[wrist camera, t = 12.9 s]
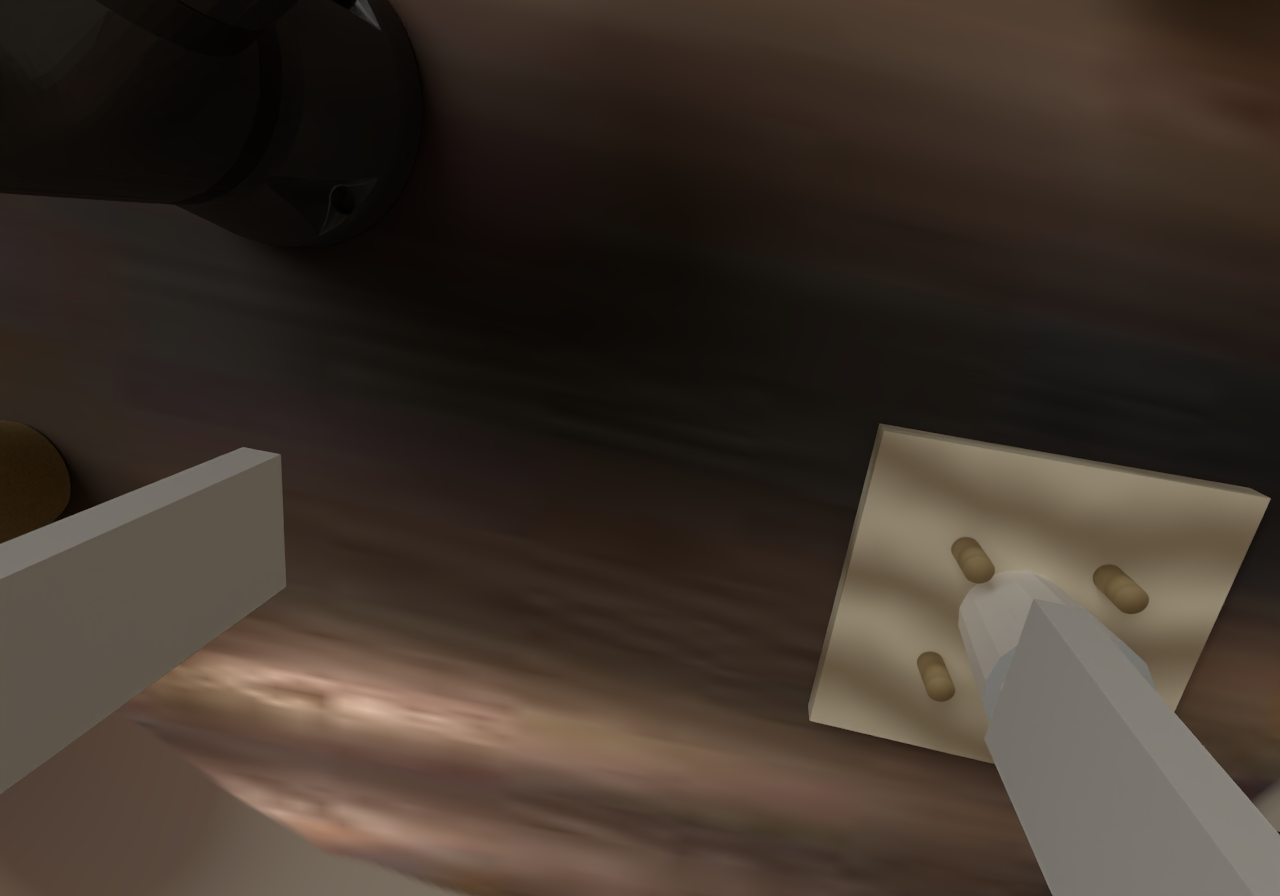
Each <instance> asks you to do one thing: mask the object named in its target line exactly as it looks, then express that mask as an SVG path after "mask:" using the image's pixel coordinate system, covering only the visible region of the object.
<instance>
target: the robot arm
mask: <svg viewBox="0 0 1280 896" xmlns="http://www.w3.org/2000/svg"><path fill="white" fill-rule="evenodd" d="M421 127H422V94H421V86H420V79H419V74H418V69H417V65H416V61H415V57H414V54H413V51H412V48H411V45H410V42H409V40H408V37H407V34H406V32H405V30H404V28H403V26H402V24H401V22H400V20H399V18H398V16H397V14H396V13H395V11H394V9H393V8H392V6H391V5H390V3H389V2H388V0H0V193H5V194H20V195H34V196H49V197H64V198H79V199H94V200H109V201H124V202H139V203H160V204H173V205H176V206H179V207H181V208H183V209H185V210H187V211H189V212H191V213H193V214H195V215H197V216H199V217H202V218H204V219H206V220H208V221H210V222H212V223H214V224H216V225H218V226H220V227H222V228H225V229H227V230H229V231H231V232H233V233H235V234H237V235H240V236H242V237H245V238H247V239H250V240H254V241H257V242H261V243H266V244H271V245H278V246H324V245H331V244H335V243H339V242H342V241H345V240H348V239H350V238H352V237H354V236H356V235H358V234H360V233H362V232H363V231H365V230H366V229H368V228H369V227H371V226H372V225H373V224H375V223H376V222H377V221H378V220H379V219H380V218H381V217H382V216H383V215H384V214H385V213H386V212H387V211H388V210H389V209H390V208H391V206H392V205H393V204H394V202H395V201H396V200H397V198H398V197H399V195H400V193H401V192H402V190H403V188H404V186H405V184H406V183H407V180H408V178H409V176H410V174H411V171H412V168H413V165H414V163H415V159H416V155H417V152H418V147H419V142H420V135H421ZM285 587H286V573H285V548H284V523H283V498H282V473H281V454H276V453H270V452H265V451H260V450H255V449H250V448H244V447H242V448H240V449H237V450H235V451H232V452H230V453H227V454H225V455H222V456H220V457H217V458H215V459H212V460H210V461H207V462H205V463H202V464H200V465H197V466H195V467H192V468H190V469H187V470H185V471H182V472H180V473H177V474H175V475H172V476H170V477H167V478H165V479H162V480H160V481H157V482H155V483H152V484H149V485H147V486H144V487H142V488H139V489H137V490H134V491H132V492H129V493H127V494H124V495H122V496H119V497H117V498H114V499H112V500H109V501H107V502H104V503H102V504H99V505H97V506H94V507H92V508H89V509H87V510H84V511H82V512H79V513H77V514H74V515H72V516H69V517H67V518H64V519H62V520H59V521H57V522H54V523H52V524H49V525H47V526H44V527H42V528H39V529H37V530H34V531H32V532H29V533H27V534H24V535H22V536H19V537H17V538H14V539H12V540H9V541H7V542H4V543H2V544H0V794H1V793H2V792H4V791H5V790H7V789H8V788H9V787H11V786H12V785H14V784H15V783H16V782H18V781H19V780H20V779H22V778H23V777H24V776H26V775H27V774H29V773H30V772H31V771H33V770H34V769H35V768H37V767H38V766H40V765H41V764H42V763H44V762H45V761H47V760H48V759H49V758H51V757H52V756H53V755H55V754H56V753H58V752H59V751H60V750H62V749H63V748H65V747H66V746H67V745H69V744H70V743H71V742H73V741H74V740H75V739H77V738H78V737H80V736H81V735H82V734H84V733H85V732H87V731H88V730H89V729H90V728H92V727H93V726H95V725H96V724H98V723H99V722H100V721H102V720H103V719H104V718H106V717H107V716H109V715H110V714H111V713H113V712H114V711H116V710H117V709H118V708H120V707H121V706H122V705H124V704H125V703H127V702H128V701H129V700H131V699H132V698H133V697H135V696H136V695H138V694H139V693H140V692H142V691H143V690H144V689H146V688H147V687H149V686H150V685H151V684H153V683H154V682H155V681H157V680H158V679H160V678H161V677H162V676H164V675H165V674H166V673H168V672H169V671H171V670H172V669H173V668H175V667H176V666H178V665H179V664H180V663H182V662H183V661H184V660H186V659H187V658H189V657H190V656H191V655H193V654H194V653H195V652H197V651H198V650H200V649H201V648H202V647H204V646H205V645H206V644H208V643H209V642H211V641H212V640H213V639H215V638H216V637H217V636H219V635H220V634H222V633H223V632H224V631H226V630H227V629H229V628H230V627H231V626H233V625H234V624H235V623H237V622H238V621H240V620H241V619H242V618H244V617H245V616H246V615H248V614H249V613H251V612H252V611H253V610H255V609H256V608H257V607H259V606H260V605H262V604H263V603H264V602H266V601H267V600H268V599H270V598H271V597H273V596H274V595H275V594H277V593H278V592H279V591H281V590H282V589H284V588H285ZM984 740H985V742H986V745H987V747H988V749H989V752H990V754H991V756H992V758H993V761H994V763H995V765H996V768H997V770H998V772H999V774H1000V777H1001V779H1002V781H1003V784H1004V786H1005V788H1006V790H1007V793H1008V795H1009V797H1010V800H1011V802H1012V804H1013V806H1014V809H1015V811H1016V813H1017V816H1018V818H1019V820H1020V822H1021V825H1022V827H1023V829H1024V832H1025V834H1026V836H1027V839H1028V841H1029V843H1030V845H1031V848H1032V850H1033V852H1034V855H1035V857H1036V859H1037V861H1038V864H1039V866H1040V868H1041V871H1042V873H1043V875H1044V877H1045V880H1046V882H1047V884H1048V887H1049V889H1050V891H1051V893H1052V896H1280V832H1278V831H1276V830H1275V829H1274V828H1273V826H1272V825H1271V824H1270V823H1269V822H1268V821H1267V819H1266V818H1265V817H1264V816H1263V815H1262V814H1261V812H1260V811H1259V810H1258V809H1257V808H1256V807H1255V805H1254V804H1253V803H1252V802H1251V801H1250V800H1249V799H1248V797H1247V796H1246V795H1245V794H1244V793H1243V792H1242V790H1241V789H1240V788H1239V787H1238V786H1237V785H1236V783H1235V782H1234V781H1233V780H1232V779H1231V778H1230V777H1229V775H1228V774H1227V773H1226V772H1225V771H1224V770H1223V768H1222V767H1221V766H1220V765H1219V764H1218V763H1217V761H1216V760H1215V759H1214V758H1213V757H1212V756H1211V754H1210V753H1209V752H1208V751H1207V750H1206V749H1205V748H1204V746H1203V745H1202V744H1201V743H1200V742H1199V741H1198V739H1197V738H1196V737H1195V736H1194V735H1193V734H1192V732H1191V731H1190V730H1189V729H1188V728H1187V727H1186V726H1185V724H1184V723H1183V722H1182V721H1181V720H1180V719H1179V717H1178V716H1177V715H1176V714H1175V713H1174V712H1173V710H1172V709H1171V708H1170V707H1169V706H1168V705H1167V704H1166V702H1165V701H1164V700H1163V699H1162V698H1161V697H1160V695H1159V694H1158V693H1157V692H1156V691H1155V690H1154V688H1153V687H1152V686H1151V685H1150V684H1149V683H1148V681H1147V680H1146V679H1145V678H1144V677H1143V676H1142V675H1141V673H1140V672H1139V671H1138V670H1137V669H1136V668H1135V666H1134V665H1133V664H1132V663H1131V662H1130V661H1129V659H1128V658H1127V657H1126V656H1125V655H1124V654H1123V653H1122V651H1121V650H1120V649H1119V648H1118V647H1117V646H1116V644H1115V643H1114V642H1113V641H1112V640H1111V639H1110V637H1109V636H1108V635H1107V634H1106V633H1105V632H1104V630H1103V629H1102V628H1101V627H1100V626H1099V625H1098V624H1097V622H1096V621H1095V620H1094V619H1093V618H1092V617H1091V615H1090V614H1089V613H1088V612H1087V611H1086V610H1085V609H1084V608H1079V607H1074V606H1068V605H1063V604H1058V603H1053V602H1048V601H1042V600H1037V599H1033V602H1032V604H1031V607H1030V610H1029V613H1028V616H1027V619H1026V621H1025V624H1024V627H1023V630H1022V633H1021V636H1020V639H1019V641H1018V644H1017V647H1016V650H1015V653H1014V656H1013V658H1012V661H1011V664H1010V667H1009V670H1008V673H1007V676H1006V678H1005V681H1004V684H1003V687H1002V690H1001V693H1000V695H999V698H998V701H997V704H996V707H995V710H994V713H993V715H992V718H991V721H990V724H989V727H988V730H987V732H986V735H985V738H984Z"/></svg>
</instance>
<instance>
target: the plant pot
mask: <svg viewBox="0 0 1280 896" xmlns="http://www.w3.org/2000/svg"><path fill="white" fill-rule="evenodd" d="M70 493H71V484H70V477H69V473H68V470H67V467H66V465H65V463H64V461H63V459H62V457H61V455H60V454H59V453H58V451H57V450H56V448H55V447H54V446H53V445H52V444H51V443H50V442H49V441H48V440H47V439H46V438H45V437H44V436H43V435H42V434H40V433H39V432H38V431H36V430H34V429H33V428H31V427H29V426H27V425H24V424H22V423H18V422H13V421H3V420H0V544H2V543H4V542H7V541H9V540H12V539H14V538H17V537H19V536H22V535H24V534H27V533H29V532H32V531H34V530H37V529H39V528H42V527H44V526H47V525H49V524H51V523H52V522H53V521H54V520H55V519H56V518H57V517H58V516H59V515H60V514H61V513H62V512H63V511H64V510H65V508H66V506H67V504H68V502H69V499H70Z"/></svg>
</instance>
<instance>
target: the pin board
mask: <svg viewBox="0 0 1280 896" xmlns="http://www.w3.org/2000/svg"><path fill="white" fill-rule="evenodd" d="M1270 499H1271V498H1269V497H1267V496H1265V495H1263V494H1261V493H1259V492H1257V491H1255V490H1253V489H1251V488H1247V487H1241V486H1235V485H1229V484H1224V483H1218V482H1212V481H1206V480H1201V479H1195V478H1189V477H1184V476H1178V475H1172V474H1166V473H1161V472H1155V471H1149V470H1143V469H1138V468H1132V467H1126V466H1120V465H1115V464H1109V463H1103V462H1097V461H1092V460H1086V459H1080V458H1074V457H1069V456H1063V455H1057V454H1052V453H1046V452H1040V451H1034V450H1029V449H1023V448H1017V447H1011V446H1006V445H1000V444H994V443H988V442H983V441H977V440H971V439H965V438H960V437H954V436H948V435H942V434H937V433H931V432H925V431H920V430H914V429H908V428H902V427H897V426H891V425H885V424H879V428H878V431H877V435H876V439H875V443H874V447H873V451H872V455H871V459H870V463H869V467H868V471H867V475H866V479H865V483H864V487H863V491H862V495H861V498H860V502H859V506H858V510H857V514H856V518H855V522H854V526H853V530H852V534H851V538H850V542H849V546H848V550H847V554H846V558H845V562H844V565H843V569H842V573H841V577H840V581H839V585H838V589H837V593H836V597H835V601H834V605H833V609H832V613H831V617H830V621H829V625H828V629H827V632H826V636H825V640H824V644H823V648H822V652H821V656H820V660H819V664H818V668H817V672H816V676H815V680H814V684H813V688H812V692H811V696H810V699H809V703H808V708H809V720H810V721H813V722H817V723H821V724H826V725H830V726H834V727H839V728H843V729H847V730H851V731H856V732H860V733H864V734H869V735H873V736H877V737H881V738H886V739H890V740H894V741H898V742H903V743H907V744H911V745H916V746H920V747H924V748H928V749H933V750H937V751H941V752H946V753H950V754H954V755H958V756H963V757H967V758H971V759H975V760H980V761H984V762H988V763H993V764H995V763H994V761H993V758H992V756H991V754H990V752H989V749H988V747H987V745H986V742H985V740H984V738H985V735H986V732H987V730H988V727H989V724H990V722H989V720H988V717H987V715H986V712H985V710H984V708H983V705H982V701H981V698H980V695H979V692H978V688H977V685H976V682H975V679H974V675H973V672H972V669H971V666H970V662H969V659H968V656H967V653H966V649H965V646H964V643H963V640H962V636H961V633H960V630H959V627H958V621H959V607H960V605H961V604H962V602H963V600H964V599H965V597H966V595H967V593H968V592H969V590H970V589H972V588H973V587H974V586H976V585H977V584H981V583H985V582H987V581H989V580H990V579H991V578H992V577H993V575H996V574H999V573H1002V572H1005V571H1031V572H1034V573H1036V574H1039V575H1041V576H1044V577H1047V578H1049V579H1051V580H1053V581H1054V582H1055V583H1056V584H1057V585H1058V586H1059V587H1061V588H1062V589H1063V590H1064V591H1065V592H1066V593H1068V594H1069V595H1070V596H1071V597H1072V598H1073V599H1074V600H1076V601H1077V602H1078V603H1079V604H1080V605H1081V606H1083V607H1084V608H1085V609H1086V610H1087V611H1088V612H1089V613H1091V614H1092V615H1093V616H1094V617H1095V618H1096V619H1097V620H1099V621H1100V622H1101V623H1102V624H1103V625H1104V626H1106V627H1107V628H1108V629H1109V630H1110V631H1111V632H1112V633H1114V634H1115V635H1116V636H1117V637H1118V638H1119V639H1120V640H1122V641H1123V642H1124V643H1125V644H1126V645H1127V646H1128V647H1129V648H1130V649H1131V650H1132V651H1134V652H1135V653H1136V654H1137V655H1138V656H1139V657H1140V658H1141V659H1142V660H1143V661H1144V662H1145V663H1146V664H1147V666H1148V669H1149V671H1150V674H1151V677H1152V680H1153V682H1154V685H1155V688H1156V692H1157V693H1158V694H1159V695H1160V697H1161V698H1162V699H1163V700H1164V701H1165V702H1166V704H1167V705H1168V706H1169V707H1170V708H1171V709H1172V710H1173V712H1175V710H1176V707H1177V705H1178V703H1179V701H1180V698H1181V696H1182V694H1183V692H1184V690H1185V687H1186V685H1187V683H1188V681H1189V679H1190V676H1191V674H1192V672H1193V670H1194V667H1195V665H1196V663H1197V661H1198V659H1199V656H1200V654H1201V652H1202V650H1203V648H1204V645H1205V643H1206V641H1207V639H1208V636H1209V634H1210V632H1211V630H1212V628H1213V625H1214V623H1215V621H1216V619H1217V617H1218V614H1219V612H1220V610H1221V608H1222V605H1223V603H1224V601H1225V599H1226V597H1227V594H1228V592H1229V590H1230V588H1231V586H1232V583H1233V581H1234V579H1235V577H1236V574H1237V572H1238V570H1239V568H1240V566H1241V563H1242V561H1243V559H1244V557H1245V555H1246V552H1247V550H1248V548H1249V546H1250V544H1251V541H1252V539H1253V537H1254V535H1255V532H1256V530H1257V528H1258V526H1259V524H1260V521H1261V519H1262V517H1263V515H1264V513H1265V510H1266V508H1267V506H1268V504H1269V501H1270Z"/></svg>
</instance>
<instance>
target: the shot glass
mask: <svg viewBox="0 0 1280 896" xmlns="http://www.w3.org/2000/svg"><path fill="white" fill-rule="evenodd" d="M1033 599H1037V600H1042V601H1048V602H1053V603H1058V604H1063V605H1068V606H1074V607H1079V608H1084V607H1083V606H1081V605H1080V604H1079V603H1078V602H1077V601H1076V600H1074V599H1073V598H1072V597H1071V596H1070V595H1069V594H1068V593H1066V592H1065V591H1064V590H1063V589H1062V588H1061V587H1059V586H1058V585H1057V584H1056V583H1055V582H1054V581H1053V580H1051V579H1049V578H1047V577H1044V576H1041V575H1039V574H1036V573H1034V572H1031V571H1005V572H1002V573H999V574H996V575H993V577H992V578H991V579H990V580H989V581H987V582H985V583H981V584H977V585H976V586H974V587H973V588H972V589H970V590H969V592H968V593H967V595H966V597H965V599H964V600H963V602H962V604H961V605H960V607H959V621H958V627H959V630H960V633H961V636H962V640H963V643H964V646H965V649H966V653H967V656H968V659H969V662H970V666H971V669H972V672H973V675H974V679H975V682H976V685H977V688H978V692H979V695H980V698H981V701H982V705H983V708H984V710H985V712H986V715H987V717H988V720H989V722H990V721H991V718H992V715H993V713H994V710H995V707H996V704H997V701H998V698H999V695H1000V693H1001V690H1002V687H1003V684H1004V681H1005V678H1006V676H1007V673H1008V670H1009V667H1010V664H1011V661H1012V658H1013V656H1014V653H1015V650H1016V647H1017V644H1018V641H1019V639H1020V636H1021V633H1022V630H1023V627H1024V624H1025V621H1026V619H1027V616H1028V613H1029V610H1030V607H1031V604H1032V602H1033ZM1084 609H1085V608H1084ZM1085 610H1086V609H1085ZM1086 611H1087V610H1086ZM1087 612H1088V611H1087ZM1088 613H1089V612H1088ZM1089 614H1090V615H1091V617H1092V618H1093V619H1094V620H1095V621H1096V622H1097V624H1098V625H1099V626H1100V627H1101V628H1102V629H1103V630H1104V632H1105V633H1106V634H1107V635H1108V636H1109V637H1110V639H1111V640H1112V641H1113V642H1114V643H1115V644H1116V646H1117V647H1118V648H1119V649H1120V650H1121V651H1122V653H1123V654H1124V655H1125V656H1126V657H1127V658H1128V659H1129V661H1130V662H1131V663H1132V664H1133V665H1134V666H1135V668H1136V669H1137V670H1138V671H1139V672H1140V673H1141V675H1142V676H1143V677H1144V678H1145V679H1146V680H1147V681H1148V683H1149V684H1150V685H1151V686H1152V687H1153V688H1154V690H1155V691H1156V688H1155V685H1154V682H1153V680H1152V677H1151V674H1150V671H1149V669H1148V666H1147V664H1146V663H1145V662H1144V661H1143V660H1142V659H1141V658H1140V657H1139V656H1138V655H1137V654H1136V653H1135V652H1134V651H1132V650H1131V649H1130V648H1129V647H1128V646H1127V645H1126V644H1125V643H1124V642H1123V641H1122V640H1120V639H1119V638H1118V637H1117V636H1116V635H1115V634H1114V633H1112V632H1111V631H1110V630H1109V629H1108V628H1107V627H1106V626H1104V625H1103V624H1102V623H1101V622H1100V621H1099V620H1097V619H1096V618H1095V617H1094V616H1093V615H1092V614H1091V613H1089Z"/></svg>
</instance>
